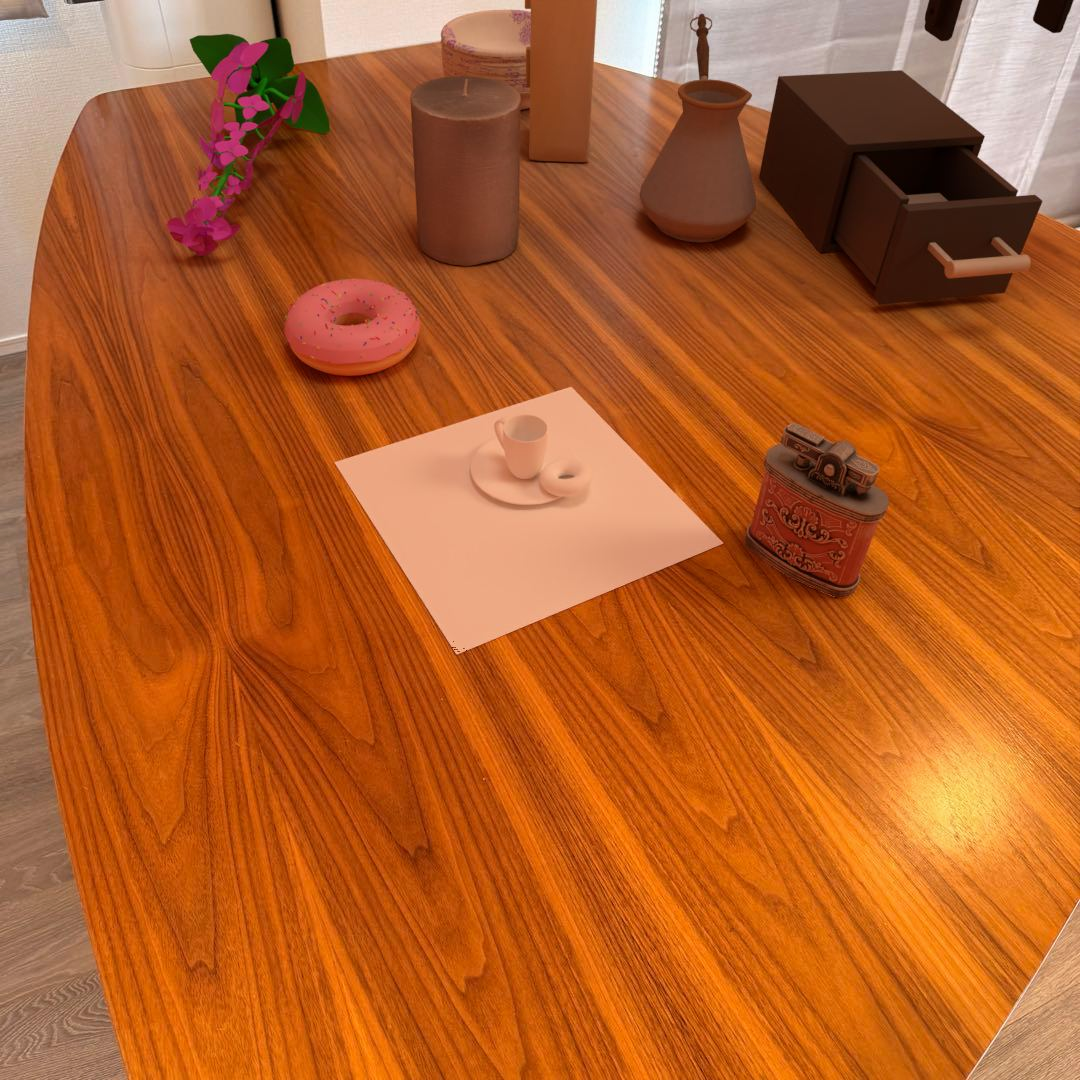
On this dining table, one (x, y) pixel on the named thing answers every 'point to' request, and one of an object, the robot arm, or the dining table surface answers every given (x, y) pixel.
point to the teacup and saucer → (521, 515)
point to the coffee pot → (702, 161)
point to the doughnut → (352, 327)
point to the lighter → (816, 511)
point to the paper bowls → (489, 47)
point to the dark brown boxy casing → (846, 138)
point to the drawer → (933, 224)
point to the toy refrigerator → (560, 78)
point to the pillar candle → (466, 168)
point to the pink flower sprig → (244, 123)
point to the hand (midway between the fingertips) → (992, 31)
